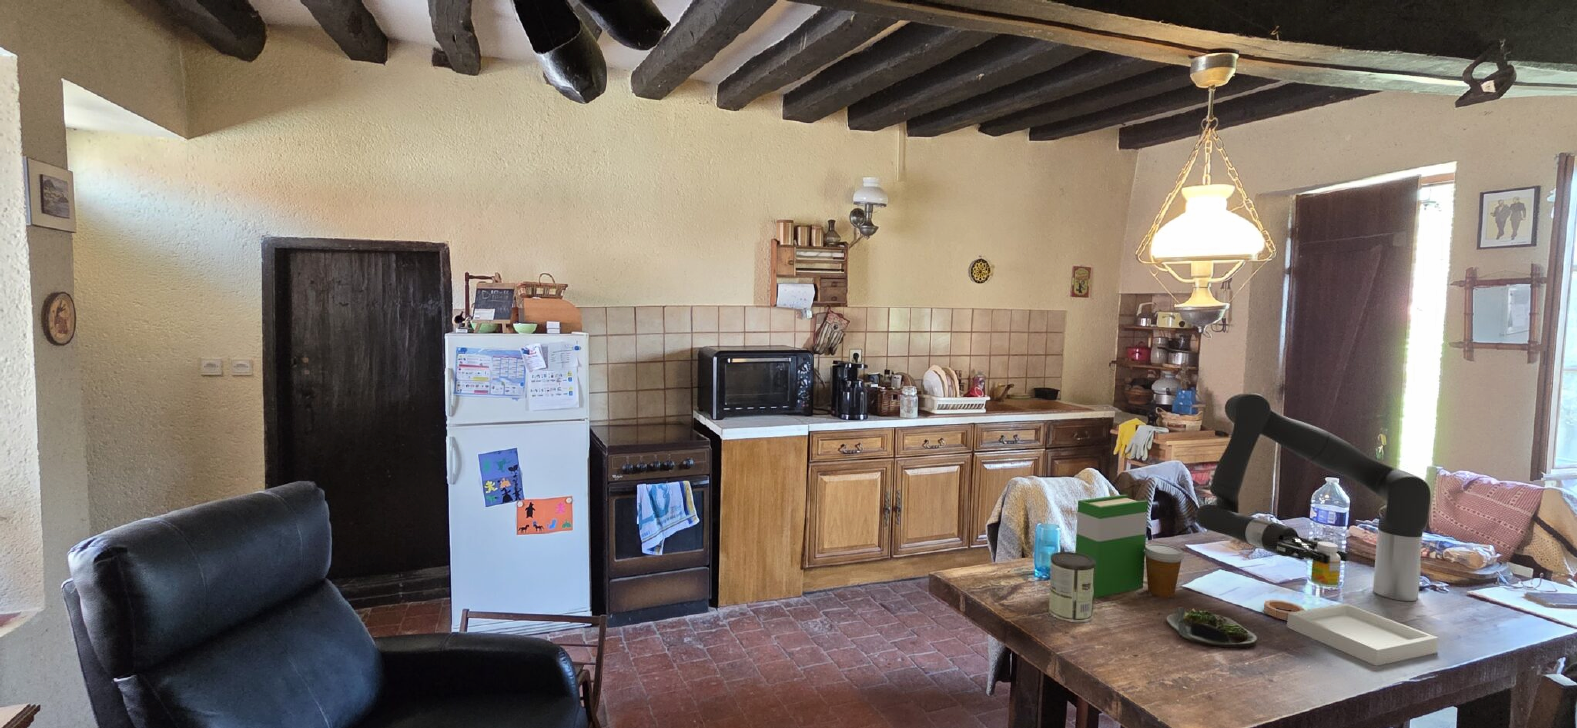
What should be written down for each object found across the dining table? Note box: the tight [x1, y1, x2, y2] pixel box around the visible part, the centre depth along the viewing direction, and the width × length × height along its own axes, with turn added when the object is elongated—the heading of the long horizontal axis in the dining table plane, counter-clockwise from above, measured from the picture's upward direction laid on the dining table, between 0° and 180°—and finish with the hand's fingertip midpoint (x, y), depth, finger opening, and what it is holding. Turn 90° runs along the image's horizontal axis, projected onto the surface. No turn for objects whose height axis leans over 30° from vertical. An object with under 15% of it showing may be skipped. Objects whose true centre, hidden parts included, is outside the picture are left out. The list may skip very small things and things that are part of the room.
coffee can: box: [1048, 551, 1096, 624], centre depth 185 cm, size 10×10×14 cm
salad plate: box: [1166, 606, 1258, 650], centre depth 177 cm, size 19×18×5 cm
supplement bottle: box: [1310, 541, 1342, 588], centre depth 179 cm, size 5×5×10 cm
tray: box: [1286, 602, 1439, 667], centre depth 173 cm, size 20×20×4 cm
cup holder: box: [1263, 599, 1306, 621], centre depth 187 cm, size 8×8×2 cm
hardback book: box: [1074, 494, 1149, 599], centre depth 202 cm, size 18×7×24 cm, turn 115°
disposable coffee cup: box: [1144, 543, 1185, 598], centre depth 199 cm, size 10×10×12 cm
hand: (1337, 558), depth 177 cm, fingers closed on supplement bottle, 5 cm apart
